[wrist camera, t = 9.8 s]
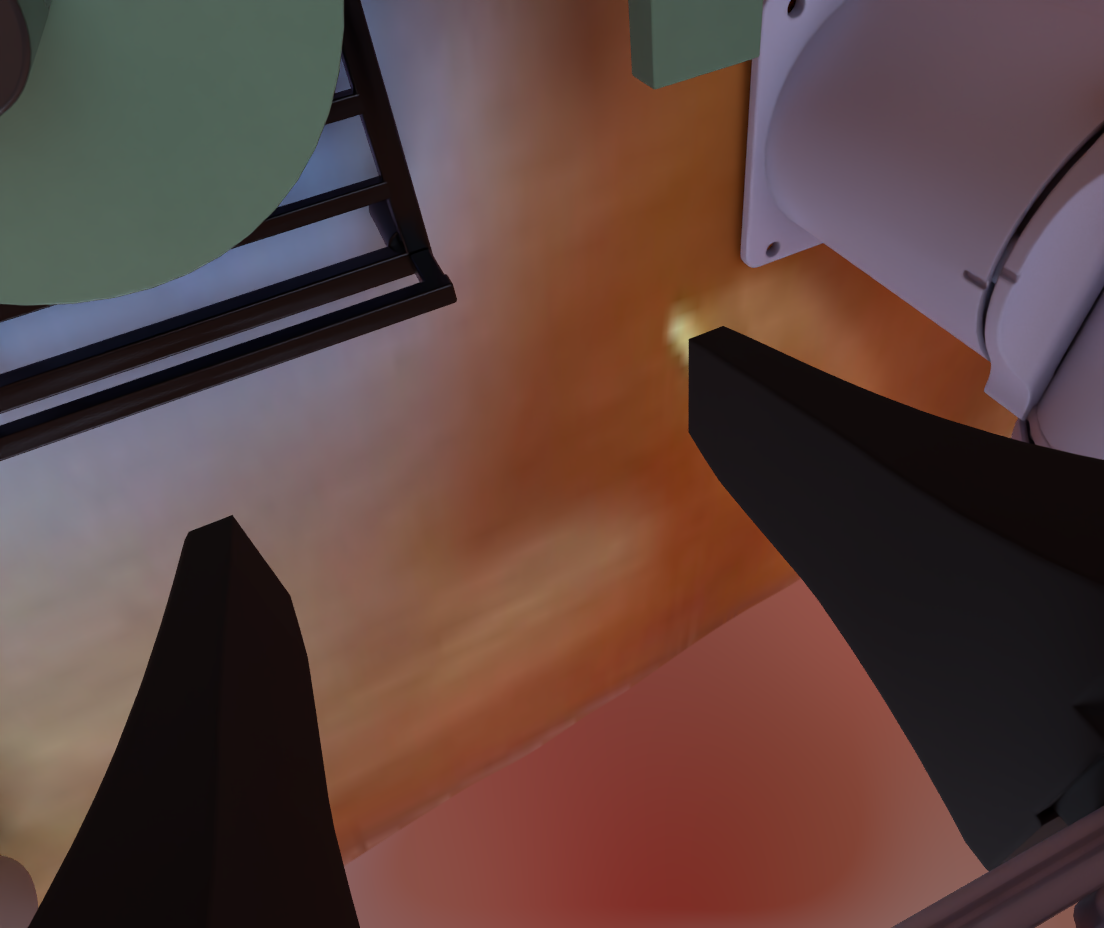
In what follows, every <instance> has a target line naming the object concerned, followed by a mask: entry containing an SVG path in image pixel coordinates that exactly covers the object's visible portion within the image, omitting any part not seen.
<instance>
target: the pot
mask: <svg viewBox="0 0 1104 928" xmlns="http://www.w3.org/2000/svg"><path fill="white" fill-rule="evenodd" d="M628 3H629V22H630V41H631V61H632V74H633V76H634V77H636V78H637V79H639V80H641V81H642V82H644V83H645V84H647V85H648V86H650V87H651V88H653V89H658V88H661V87H664V86H668V85H671V84H674V83H677V82H681V81H684V80H687V79H690V78H693V77H697V76H700V75H703V74H706V73H709V72H713V71H716V70H719V69H722V68H725V67H729V66H732V65H735V64H738V63H741V62H745V61H748V60H751V59H754V58H757V57H759V55H760V41H761V26H762V11H763V0H628Z"/></svg>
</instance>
